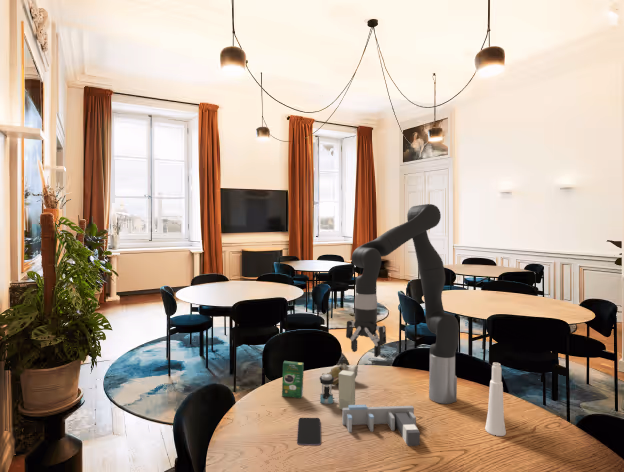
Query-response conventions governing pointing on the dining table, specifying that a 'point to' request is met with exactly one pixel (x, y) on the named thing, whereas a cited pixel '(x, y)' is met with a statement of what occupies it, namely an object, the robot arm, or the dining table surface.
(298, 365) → the coffee box
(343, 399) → the box
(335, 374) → the ceramic sculpture
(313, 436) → the smartphone
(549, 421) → the dining table surface
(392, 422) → the grey pronged rack
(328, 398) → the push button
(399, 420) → the gray rectangular block
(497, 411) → the cosmetic bottle
